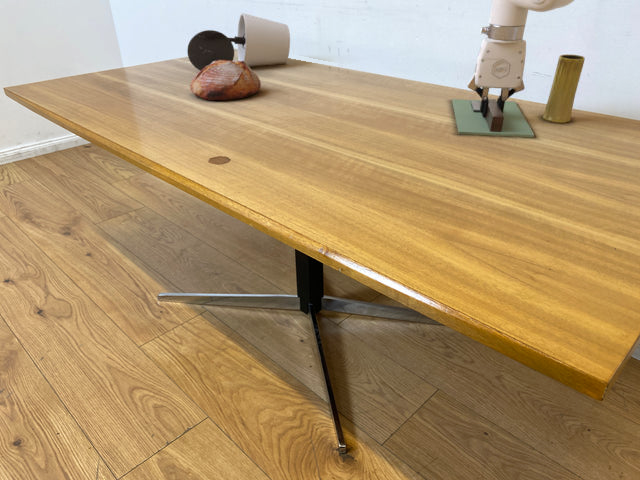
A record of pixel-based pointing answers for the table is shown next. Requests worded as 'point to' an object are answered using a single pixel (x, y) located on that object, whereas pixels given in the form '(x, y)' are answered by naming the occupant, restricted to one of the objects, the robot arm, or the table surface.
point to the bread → (225, 81)
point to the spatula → (491, 114)
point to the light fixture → (243, 44)
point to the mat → (477, 123)
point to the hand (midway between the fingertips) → (490, 115)
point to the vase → (564, 88)
